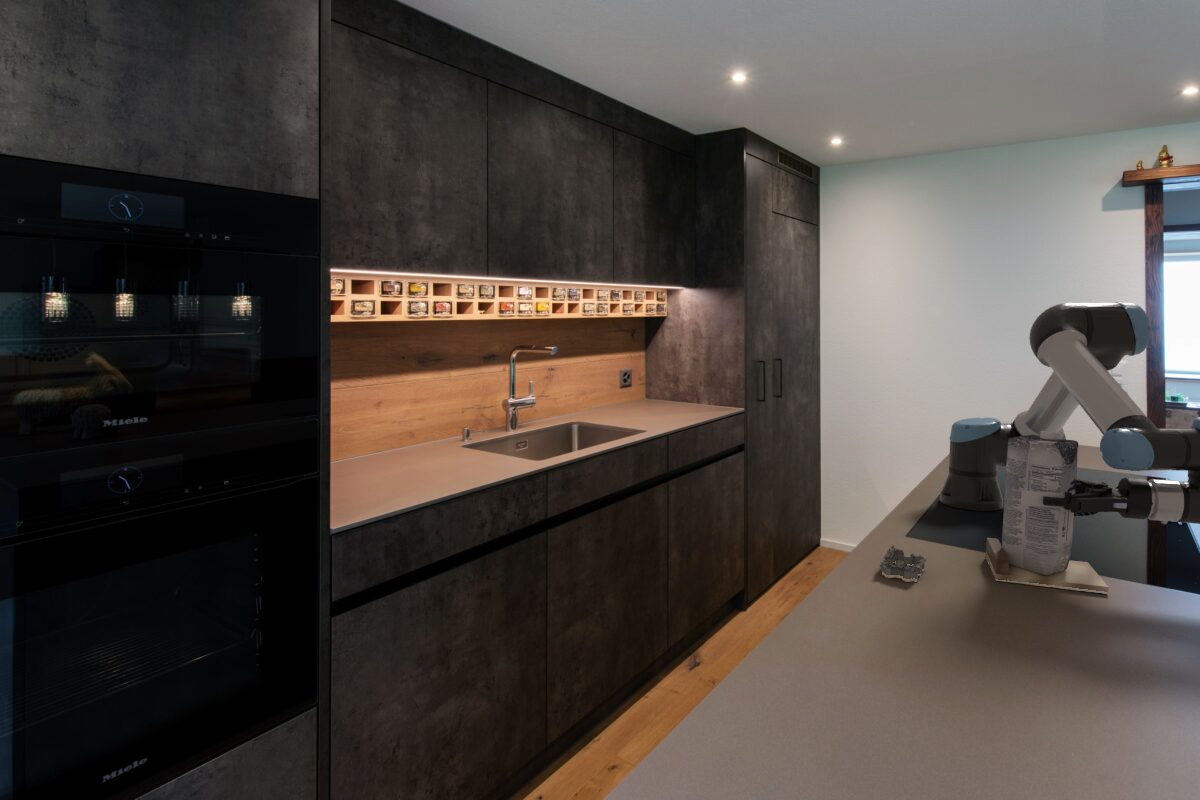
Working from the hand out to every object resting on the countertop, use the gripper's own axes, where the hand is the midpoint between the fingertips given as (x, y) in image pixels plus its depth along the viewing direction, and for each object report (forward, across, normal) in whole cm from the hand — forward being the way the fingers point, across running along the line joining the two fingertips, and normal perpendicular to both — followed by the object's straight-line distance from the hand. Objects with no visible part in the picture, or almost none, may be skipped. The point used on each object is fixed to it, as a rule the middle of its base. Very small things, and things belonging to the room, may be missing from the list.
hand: (1015, 489), depth 136 cm
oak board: (-6, 0, -17) cm, 18 cm away
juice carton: (-4, 0, -16) cm, 16 cm away
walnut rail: (+2, 0, -15) cm, 15 cm away
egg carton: (+20, -8, -17) cm, 28 cm away
